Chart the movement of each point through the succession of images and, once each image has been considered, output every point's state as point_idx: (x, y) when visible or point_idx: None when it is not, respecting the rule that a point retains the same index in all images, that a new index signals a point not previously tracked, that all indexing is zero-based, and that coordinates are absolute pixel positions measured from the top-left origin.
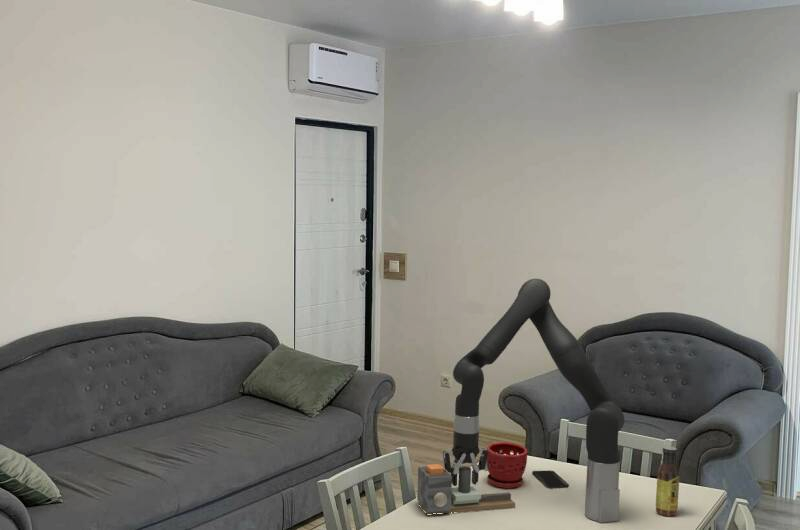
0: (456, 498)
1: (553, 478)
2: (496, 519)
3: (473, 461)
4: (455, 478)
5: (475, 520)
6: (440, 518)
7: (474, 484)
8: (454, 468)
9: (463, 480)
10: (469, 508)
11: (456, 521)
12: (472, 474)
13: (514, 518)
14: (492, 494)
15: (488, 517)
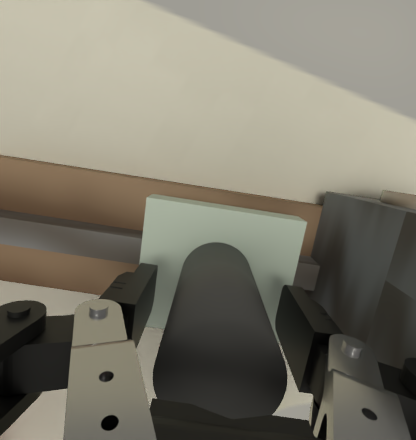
0: (298, 219)
1: None
2: (148, 61)
3: (123, 394)
4: (316, 313)
5: (247, 89)
6: (379, 172)
7: (155, 265)
8: (379, 384)
9: (250, 283)
10: (221, 190)
11: (334, 113)
12: (138, 334)
13: (59, 37)
14: (56, 240)
15: (171, 99)
